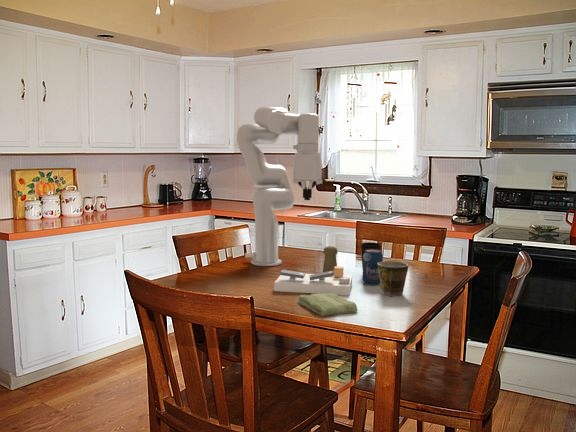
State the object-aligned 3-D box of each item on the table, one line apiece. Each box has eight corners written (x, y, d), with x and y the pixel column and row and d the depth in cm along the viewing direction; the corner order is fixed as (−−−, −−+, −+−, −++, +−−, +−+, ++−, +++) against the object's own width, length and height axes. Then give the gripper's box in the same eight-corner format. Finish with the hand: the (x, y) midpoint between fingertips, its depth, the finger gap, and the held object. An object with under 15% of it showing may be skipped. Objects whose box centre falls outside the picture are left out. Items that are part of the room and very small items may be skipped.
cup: (357, 276, 207) (357, 244, 205) (364, 272, 213) (364, 241, 212) (376, 278, 203) (377, 246, 202) (383, 274, 210) (384, 243, 208)
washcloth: (332, 298, 177) (332, 289, 176) (360, 314, 160) (360, 303, 160) (295, 302, 172) (295, 292, 171) (320, 319, 155) (320, 307, 155)
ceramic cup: (386, 288, 189) (387, 259, 188) (412, 293, 183) (413, 263, 181) (366, 295, 179) (367, 265, 178) (393, 301, 173) (394, 270, 171)
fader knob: (334, 276, 190) (334, 268, 190) (334, 274, 193) (334, 266, 193) (342, 277, 190) (342, 268, 189) (343, 275, 193) (343, 266, 192)
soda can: (367, 286, 191) (368, 252, 190) (359, 281, 198) (360, 249, 196) (385, 285, 193) (386, 251, 192) (377, 280, 200) (377, 248, 198)
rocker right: (310, 280, 183) (309, 277, 183) (311, 277, 187) (310, 274, 187) (333, 275, 182) (332, 272, 182) (334, 273, 186) (333, 270, 186)
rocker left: (279, 274, 185) (280, 271, 185) (282, 272, 189) (282, 269, 189) (303, 278, 184) (303, 275, 183) (304, 275, 187) (305, 272, 187)
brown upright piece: (337, 277, 204) (337, 248, 203) (321, 276, 206) (321, 247, 204) (338, 273, 210) (339, 245, 209) (323, 273, 211) (323, 244, 210)
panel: (274, 291, 184) (274, 277, 183) (282, 280, 198) (282, 268, 198) (349, 295, 179) (349, 281, 179) (352, 284, 194) (352, 271, 194)
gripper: (285, 148, 193) (284, 200, 196) (327, 148, 191) (326, 201, 193) (288, 148, 201) (288, 198, 203) (329, 148, 198) (328, 199, 200)
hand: (307, 199), depth 198 cm, fingers closed
